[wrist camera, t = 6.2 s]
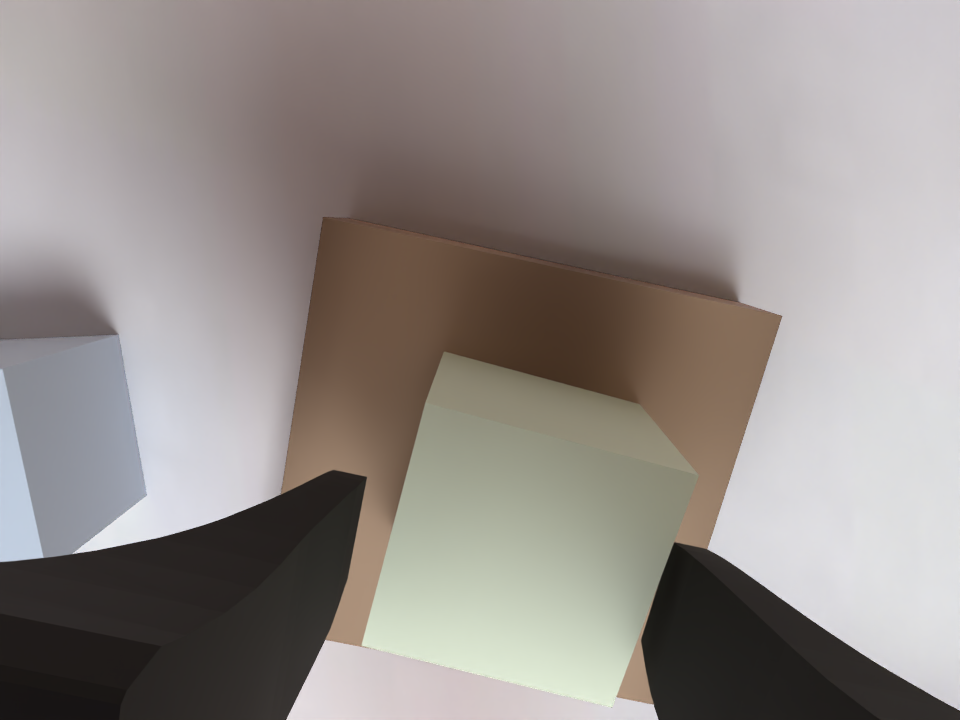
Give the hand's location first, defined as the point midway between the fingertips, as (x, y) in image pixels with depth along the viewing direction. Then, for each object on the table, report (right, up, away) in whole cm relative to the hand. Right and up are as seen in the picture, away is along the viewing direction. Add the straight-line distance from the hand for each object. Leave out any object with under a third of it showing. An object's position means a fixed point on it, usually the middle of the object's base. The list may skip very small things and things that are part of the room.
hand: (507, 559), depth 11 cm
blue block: (-12, +2, +6) cm, 14 cm away
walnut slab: (0, +1, +6) cm, 6 cm away
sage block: (0, +1, +3) cm, 3 cm away
